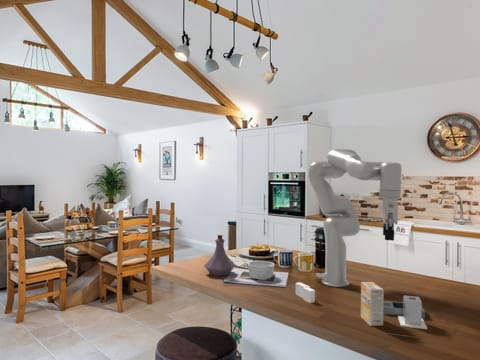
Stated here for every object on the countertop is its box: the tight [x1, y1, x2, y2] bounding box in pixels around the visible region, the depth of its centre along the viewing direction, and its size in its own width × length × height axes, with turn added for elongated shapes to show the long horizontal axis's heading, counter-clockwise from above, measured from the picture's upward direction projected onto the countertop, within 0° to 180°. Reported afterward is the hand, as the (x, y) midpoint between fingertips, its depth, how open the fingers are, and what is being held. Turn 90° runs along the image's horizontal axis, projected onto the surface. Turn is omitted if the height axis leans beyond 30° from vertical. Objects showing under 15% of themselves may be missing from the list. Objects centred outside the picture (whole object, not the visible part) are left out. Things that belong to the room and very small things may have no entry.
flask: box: [203, 234, 236, 277], centre depth 187 cm, size 16×16×20 cm
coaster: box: [397, 316, 428, 330], centre depth 125 cm, size 8×8×1 cm
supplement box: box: [360, 281, 385, 327], centre depth 126 cm, size 8×5×13 cm, turn 5°
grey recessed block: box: [383, 300, 426, 320], centre depth 134 cm, size 14×8×3 cm, turn 73°
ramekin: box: [247, 260, 275, 279], centre depth 181 cm, size 13×13×7 cm
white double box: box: [295, 281, 316, 304], centre depth 150 cm, size 15×11×6 cm
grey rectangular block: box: [402, 295, 423, 325], centre depth 125 cm, size 5×5×8 cm
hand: (388, 237), depth 142 cm, fingers open, 9 cm apart
